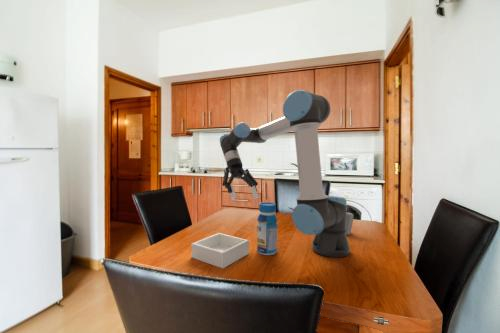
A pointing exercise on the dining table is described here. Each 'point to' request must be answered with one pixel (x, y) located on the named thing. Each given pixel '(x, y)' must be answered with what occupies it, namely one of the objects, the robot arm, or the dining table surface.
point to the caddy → (220, 249)
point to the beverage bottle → (267, 229)
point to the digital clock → (349, 222)
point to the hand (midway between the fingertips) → (245, 198)
